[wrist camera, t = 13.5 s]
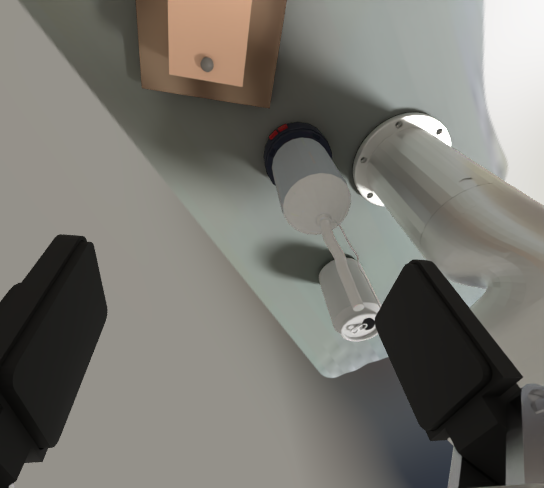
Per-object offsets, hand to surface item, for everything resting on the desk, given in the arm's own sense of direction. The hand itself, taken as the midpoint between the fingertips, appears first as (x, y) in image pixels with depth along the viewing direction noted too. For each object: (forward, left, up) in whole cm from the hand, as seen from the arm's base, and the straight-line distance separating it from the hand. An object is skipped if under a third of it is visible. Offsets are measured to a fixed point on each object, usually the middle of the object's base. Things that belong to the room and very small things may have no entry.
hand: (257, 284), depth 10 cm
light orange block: (+3, -5, -28) cm, 29 cm away
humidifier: (-8, +7, -31) cm, 32 cm away
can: (-20, +26, -31) cm, 45 cm away
